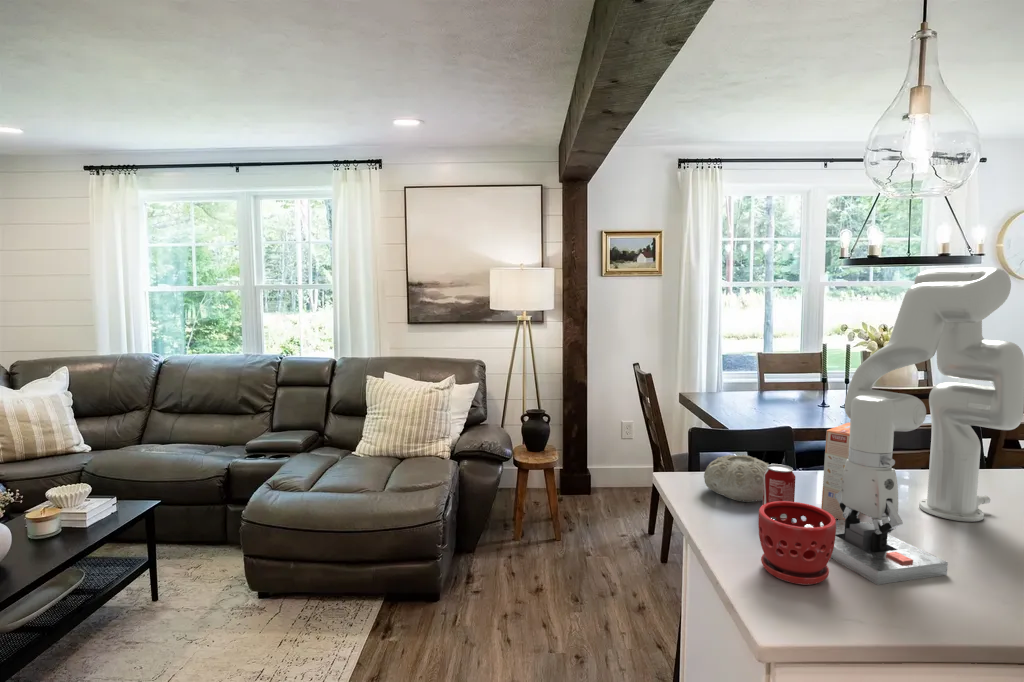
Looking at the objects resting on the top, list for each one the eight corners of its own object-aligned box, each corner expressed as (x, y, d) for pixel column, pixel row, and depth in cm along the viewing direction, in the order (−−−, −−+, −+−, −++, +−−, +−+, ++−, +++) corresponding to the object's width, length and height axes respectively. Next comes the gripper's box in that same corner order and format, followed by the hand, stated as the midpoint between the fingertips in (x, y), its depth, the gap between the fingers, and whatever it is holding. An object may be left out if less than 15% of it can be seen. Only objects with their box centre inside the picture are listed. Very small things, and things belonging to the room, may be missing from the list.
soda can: (796, 523, 136) (799, 472, 135) (765, 521, 137) (767, 470, 136) (789, 513, 142) (791, 464, 141) (759, 510, 144) (761, 462, 142)
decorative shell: (728, 511, 143) (730, 470, 142) (690, 487, 161) (691, 451, 160) (792, 505, 148) (793, 466, 147) (747, 482, 165) (749, 447, 164)
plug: (866, 546, 123) (867, 521, 123) (884, 555, 119) (885, 529, 118) (844, 549, 122) (845, 523, 121) (861, 558, 117) (863, 532, 117)
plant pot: (746, 557, 118) (748, 499, 117) (812, 559, 118) (815, 500, 117) (772, 591, 105) (775, 525, 104) (847, 592, 105) (851, 527, 104)
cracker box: (847, 523, 136) (852, 434, 134) (819, 515, 141) (824, 429, 139) (868, 508, 145) (873, 425, 143) (842, 502, 150) (846, 420, 148)
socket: (853, 529, 133) (854, 515, 132) (946, 574, 111) (948, 559, 111) (792, 535, 129) (793, 522, 129) (877, 584, 108) (878, 568, 107)
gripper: (924, 469, 111) (918, 561, 113) (851, 445, 128) (846, 526, 129) (891, 471, 109) (885, 565, 111) (821, 447, 126) (817, 529, 127)
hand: (864, 543), depth 120 cm, fingers open, 6 cm apart
